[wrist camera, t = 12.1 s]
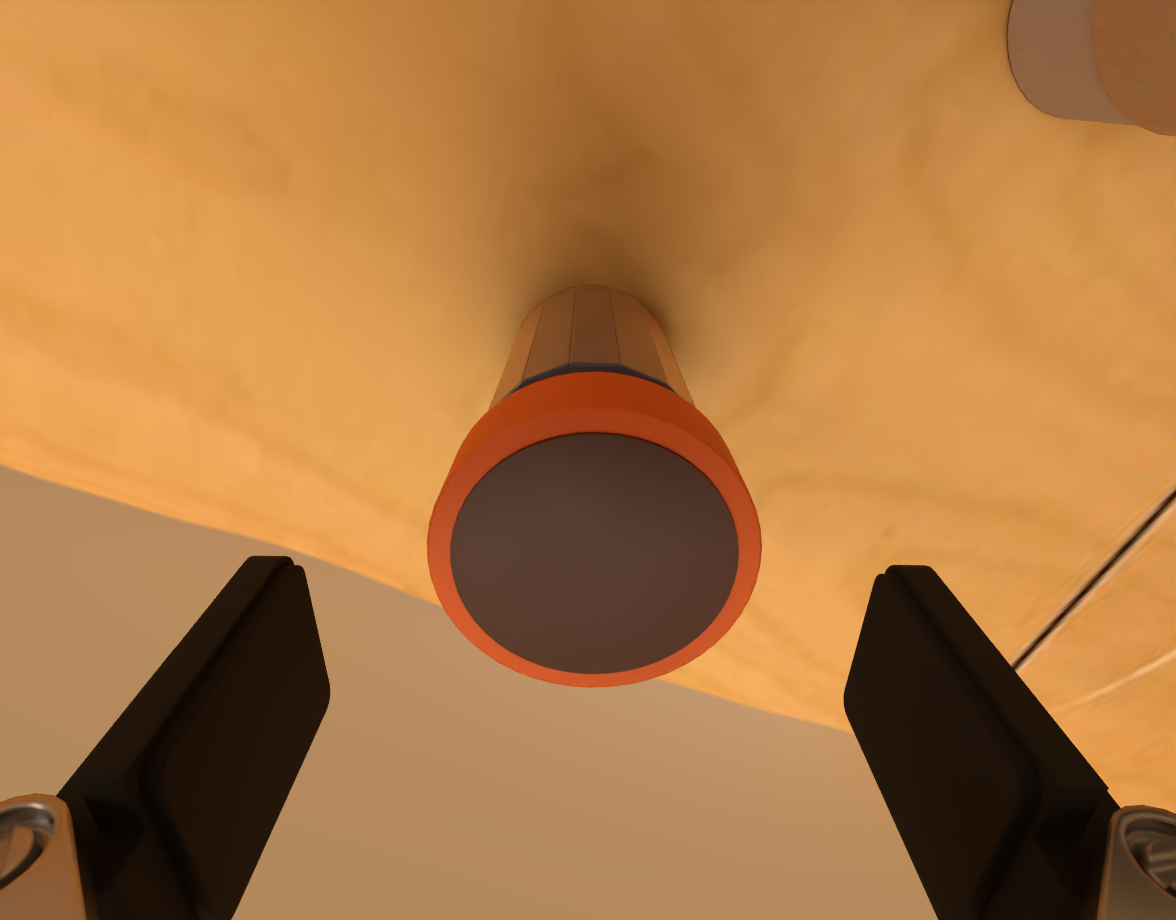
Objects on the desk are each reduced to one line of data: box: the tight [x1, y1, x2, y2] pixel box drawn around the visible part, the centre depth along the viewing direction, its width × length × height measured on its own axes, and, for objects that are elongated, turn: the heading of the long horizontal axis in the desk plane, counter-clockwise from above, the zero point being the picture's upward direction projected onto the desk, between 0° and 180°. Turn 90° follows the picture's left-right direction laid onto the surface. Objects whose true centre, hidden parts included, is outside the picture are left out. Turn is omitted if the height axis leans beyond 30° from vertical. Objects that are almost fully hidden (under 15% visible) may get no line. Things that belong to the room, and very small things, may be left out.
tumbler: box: [488, 285, 695, 411], centre depth 21 cm, size 6×6×10 cm
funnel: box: [427, 372, 762, 687], centre depth 18 cm, size 7×7×10 cm
